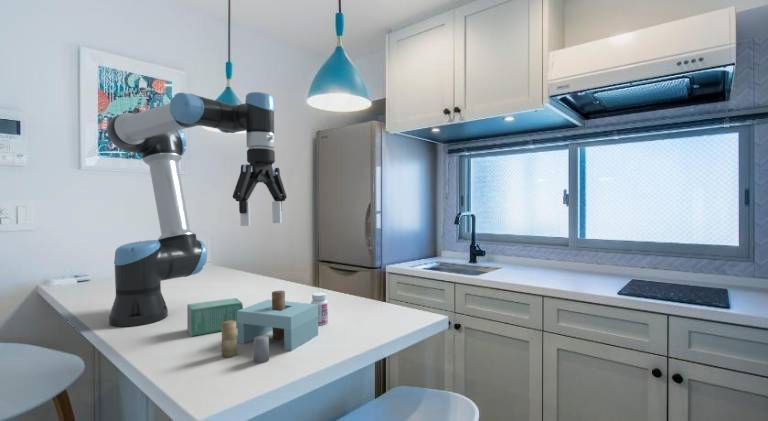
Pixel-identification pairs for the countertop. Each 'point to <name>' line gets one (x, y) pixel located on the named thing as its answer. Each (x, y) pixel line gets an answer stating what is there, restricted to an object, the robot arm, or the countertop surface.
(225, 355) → the oak pin
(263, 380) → the countertop surface
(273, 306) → the walnut pin
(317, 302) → the pill bottle
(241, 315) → the bridge
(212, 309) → the box
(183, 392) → the countertop surface
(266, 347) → the charcoal pin
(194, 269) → the robot arm
